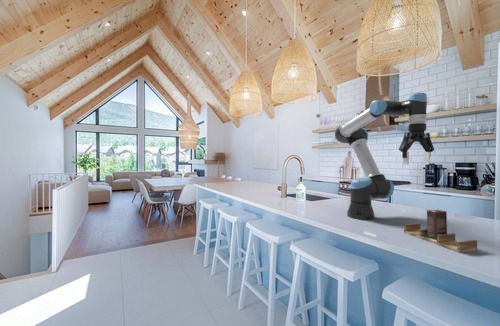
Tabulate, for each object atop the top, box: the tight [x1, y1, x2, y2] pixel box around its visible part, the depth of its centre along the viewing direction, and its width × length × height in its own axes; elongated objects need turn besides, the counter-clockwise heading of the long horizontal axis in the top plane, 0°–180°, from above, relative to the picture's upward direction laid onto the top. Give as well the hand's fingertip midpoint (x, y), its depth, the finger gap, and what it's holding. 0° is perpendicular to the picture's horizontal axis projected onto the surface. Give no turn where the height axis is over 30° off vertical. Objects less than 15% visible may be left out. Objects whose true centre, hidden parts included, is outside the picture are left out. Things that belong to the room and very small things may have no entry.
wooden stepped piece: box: [403, 222, 478, 254], centre depth 101 cm, size 24×9×4 cm, turn 13°
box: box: [426, 209, 448, 240], centre depth 101 cm, size 6×4×12 cm
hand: (416, 164), depth 121 cm, fingers open, 13 cm apart
